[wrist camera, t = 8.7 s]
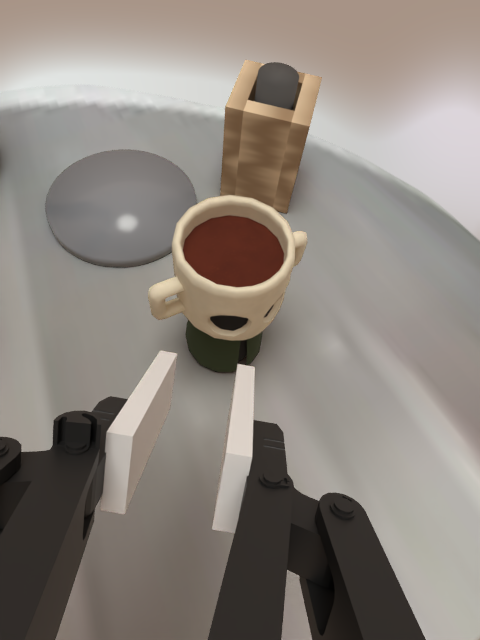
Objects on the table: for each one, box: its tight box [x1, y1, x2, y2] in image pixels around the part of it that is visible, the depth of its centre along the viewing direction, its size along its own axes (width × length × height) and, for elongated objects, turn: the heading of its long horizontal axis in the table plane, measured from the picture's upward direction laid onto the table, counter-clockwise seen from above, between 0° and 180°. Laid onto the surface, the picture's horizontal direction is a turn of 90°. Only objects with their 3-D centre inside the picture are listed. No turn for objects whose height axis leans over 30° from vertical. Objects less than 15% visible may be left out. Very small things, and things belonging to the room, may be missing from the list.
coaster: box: [45, 150, 196, 267], centre depth 39 cm, size 14×14×1 cm
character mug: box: [148, 195, 307, 372], centre depth 29 cm, size 11×7×13 cm, turn 118°
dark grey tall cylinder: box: [255, 62, 299, 110], centre depth 38 cm, size 3×3×10 cm
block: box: [220, 60, 322, 214], centre depth 39 cm, size 7×7×10 cm
